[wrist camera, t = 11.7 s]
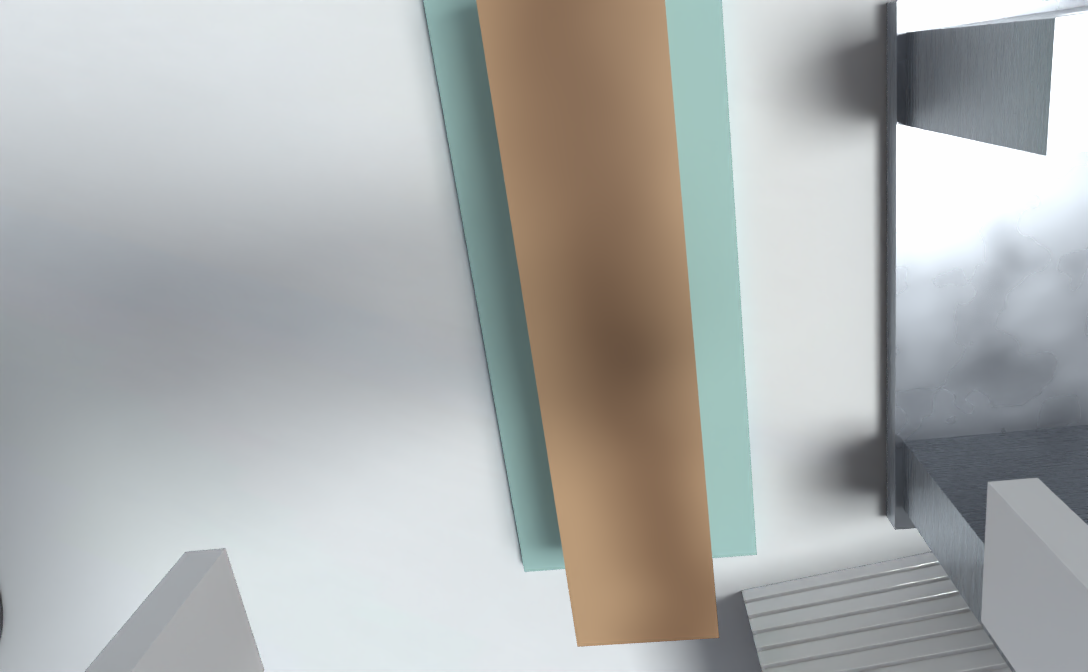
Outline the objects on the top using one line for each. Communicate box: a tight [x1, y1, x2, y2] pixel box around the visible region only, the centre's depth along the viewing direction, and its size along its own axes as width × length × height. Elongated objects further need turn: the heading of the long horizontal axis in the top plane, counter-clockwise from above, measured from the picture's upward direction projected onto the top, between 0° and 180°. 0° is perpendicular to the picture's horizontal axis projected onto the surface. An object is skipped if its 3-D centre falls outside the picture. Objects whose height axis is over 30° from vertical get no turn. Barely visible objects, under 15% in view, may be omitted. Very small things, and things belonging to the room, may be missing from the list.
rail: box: [476, 0, 719, 647], centre depth 27 cm, size 5×22×6 cm, turn 8°
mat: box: [423, 0, 757, 572], centre depth 30 cm, size 10×24×1 cm, turn 8°
